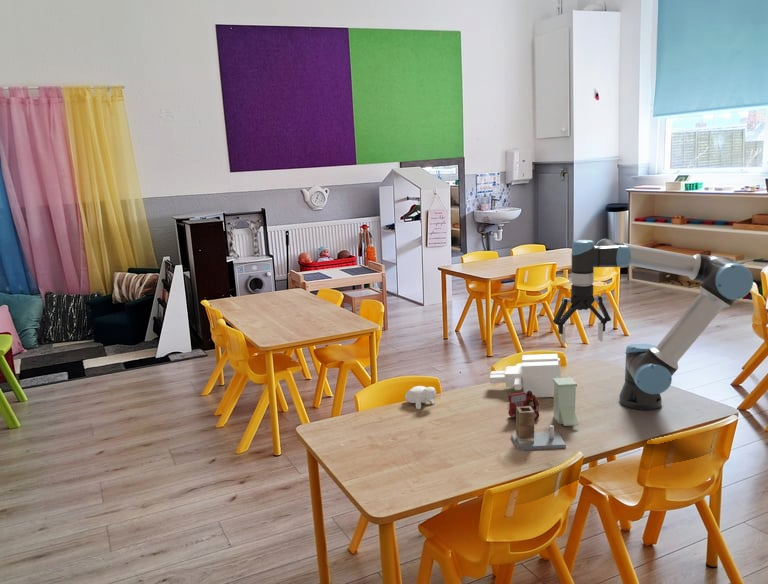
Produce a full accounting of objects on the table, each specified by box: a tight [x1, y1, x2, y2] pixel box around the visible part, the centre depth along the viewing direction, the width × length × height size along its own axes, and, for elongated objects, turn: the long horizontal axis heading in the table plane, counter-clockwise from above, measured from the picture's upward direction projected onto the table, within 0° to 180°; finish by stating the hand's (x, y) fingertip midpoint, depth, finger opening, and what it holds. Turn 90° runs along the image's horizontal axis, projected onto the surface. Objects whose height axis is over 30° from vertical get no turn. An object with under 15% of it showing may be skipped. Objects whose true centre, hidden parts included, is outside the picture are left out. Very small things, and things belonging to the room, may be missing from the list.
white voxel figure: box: [489, 353, 562, 398], centre depth 264 cm, size 15×25×28 cm
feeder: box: [553, 376, 579, 427], centre depth 233 cm, size 7×12×15 cm, turn 2°
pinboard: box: [510, 425, 567, 451], centre depth 219 cm, size 16×10×6 cm, turn 92°
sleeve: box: [515, 406, 535, 443], centre depth 218 cm, size 5×5×11 cm
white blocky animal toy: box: [404, 385, 437, 410], centre depth 255 cm, size 9×8×15 cm
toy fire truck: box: [507, 391, 540, 422], centre depth 238 cm, size 7×12×10 cm, turn 109°
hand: (581, 341), depth 234 cm, fingers open, 13 cm apart
